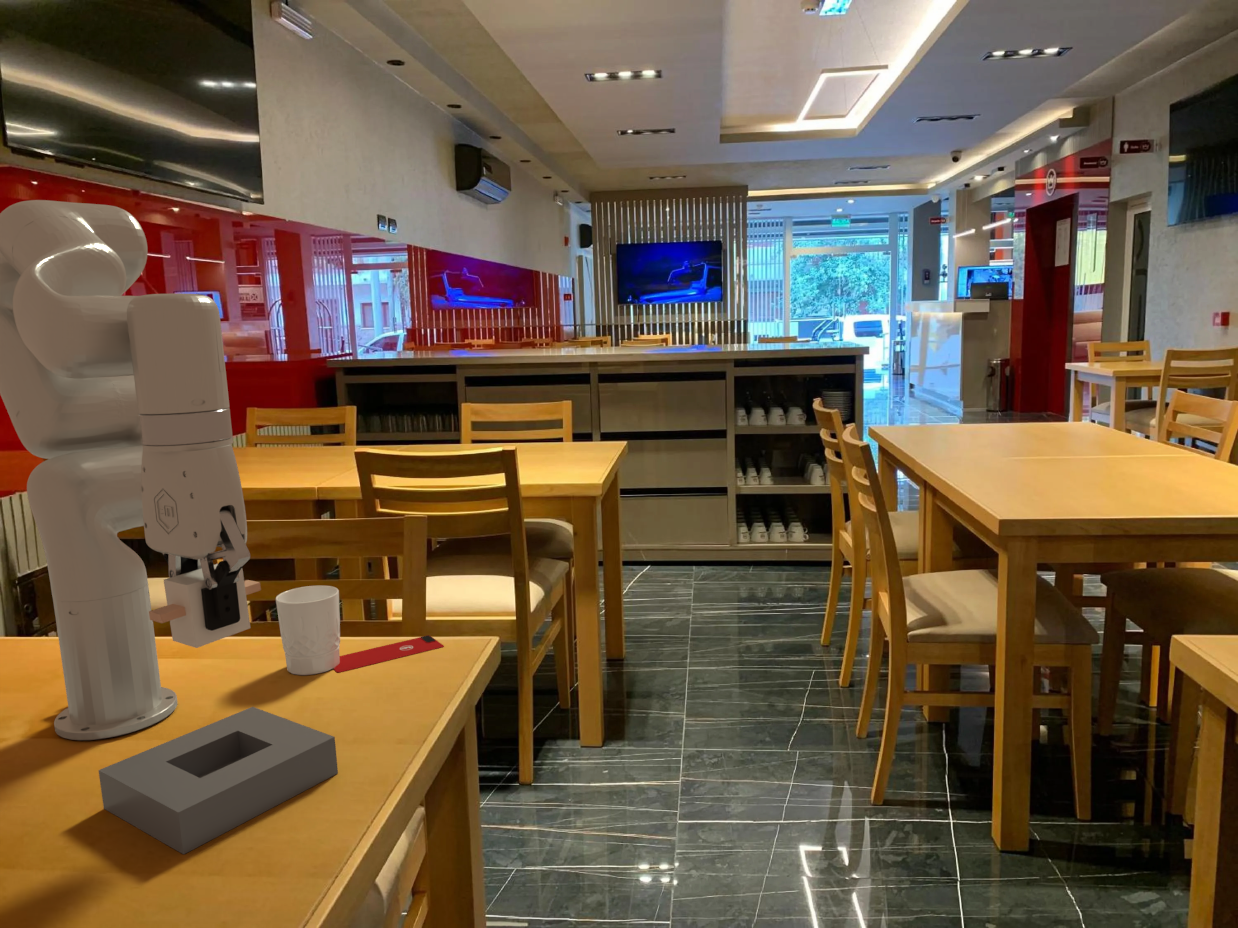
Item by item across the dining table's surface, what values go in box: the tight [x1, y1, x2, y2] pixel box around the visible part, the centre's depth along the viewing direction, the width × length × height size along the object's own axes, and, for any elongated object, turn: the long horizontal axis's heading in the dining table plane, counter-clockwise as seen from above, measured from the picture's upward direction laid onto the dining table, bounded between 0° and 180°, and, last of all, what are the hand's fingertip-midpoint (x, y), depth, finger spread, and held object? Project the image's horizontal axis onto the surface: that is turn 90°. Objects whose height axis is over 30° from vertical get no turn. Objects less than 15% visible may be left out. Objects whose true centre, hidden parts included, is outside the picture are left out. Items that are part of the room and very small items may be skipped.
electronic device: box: [332, 634, 445, 674], centre depth 120 cm, size 6×1×15 cm
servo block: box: [149, 563, 262, 649], centre depth 83 cm, size 4×10×6 cm, turn 146°
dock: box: [98, 706, 339, 855], centre depth 85 cm, size 14×16×4 cm
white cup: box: [275, 585, 341, 676], centre depth 116 cm, size 8×8×10 cm
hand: (208, 619), depth 83 cm, fingers closed on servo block, 4 cm apart
